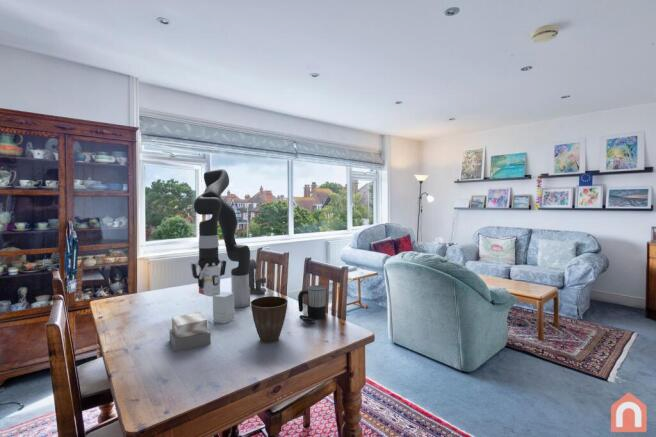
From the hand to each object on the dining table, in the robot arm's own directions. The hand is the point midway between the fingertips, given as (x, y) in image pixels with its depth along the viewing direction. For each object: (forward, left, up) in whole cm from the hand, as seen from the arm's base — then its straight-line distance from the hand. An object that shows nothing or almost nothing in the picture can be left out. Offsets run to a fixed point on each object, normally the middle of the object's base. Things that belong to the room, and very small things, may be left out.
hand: (209, 286), depth 137 cm
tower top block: (+8, -2, -17) cm, 19 cm away
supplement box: (-11, -18, -22) cm, 31 cm away
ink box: (0, 0, -3) cm, 3 cm away
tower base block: (+8, -2, -22) cm, 24 cm away
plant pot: (-20, +15, -22) cm, 33 cm away
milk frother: (-47, +5, -22) cm, 52 cm away
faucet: (-41, -59, -22) cm, 75 cm away
